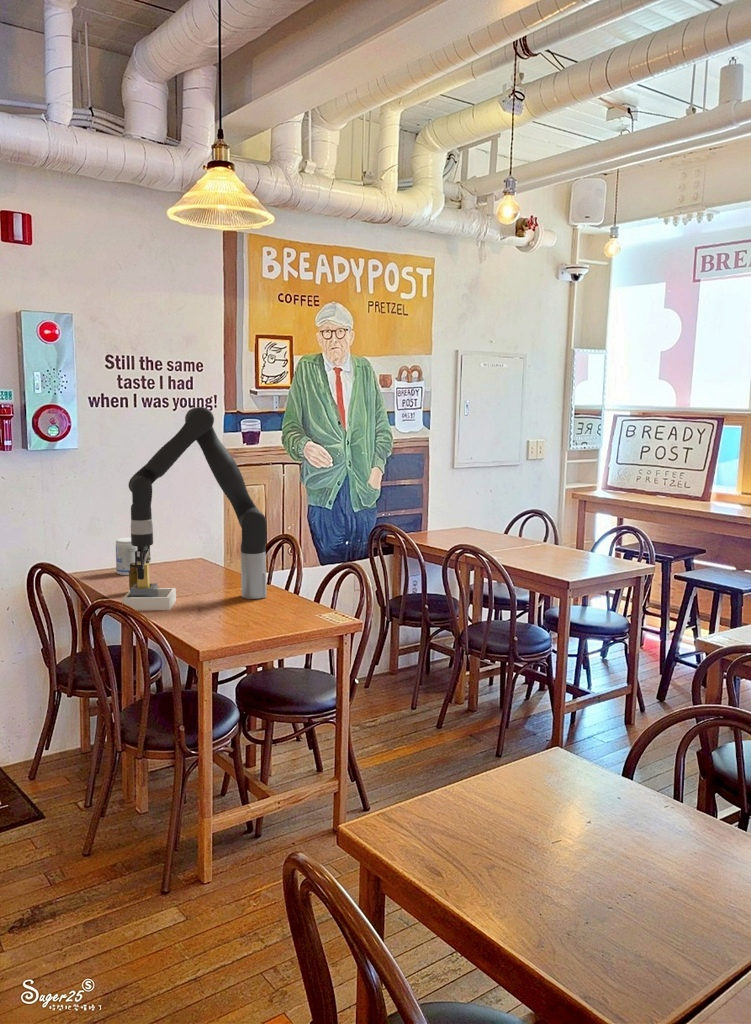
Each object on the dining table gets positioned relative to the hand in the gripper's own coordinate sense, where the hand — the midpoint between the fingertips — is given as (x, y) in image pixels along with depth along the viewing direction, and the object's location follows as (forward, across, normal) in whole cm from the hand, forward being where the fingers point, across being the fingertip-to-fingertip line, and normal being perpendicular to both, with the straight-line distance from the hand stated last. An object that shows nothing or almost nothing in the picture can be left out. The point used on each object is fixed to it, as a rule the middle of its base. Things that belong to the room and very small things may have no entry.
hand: (143, 576), depth 290 cm
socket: (+10, 0, 0) cm, 10 cm away
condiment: (+11, +18, +6) cm, 22 cm away
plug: (+8, 0, 0) cm, 8 cm away
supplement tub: (+11, +55, +18) cm, 59 cm away
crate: (+11, 0, -2) cm, 11 cm away
